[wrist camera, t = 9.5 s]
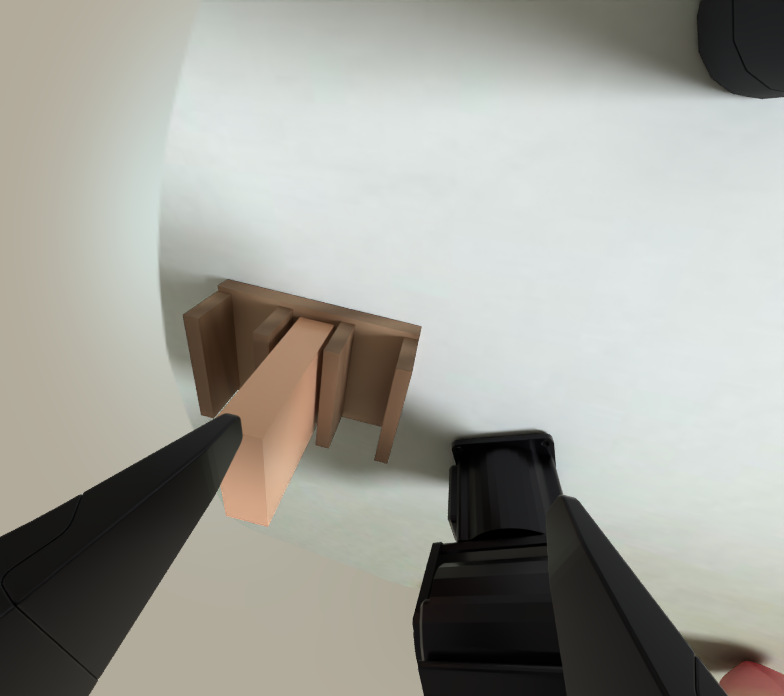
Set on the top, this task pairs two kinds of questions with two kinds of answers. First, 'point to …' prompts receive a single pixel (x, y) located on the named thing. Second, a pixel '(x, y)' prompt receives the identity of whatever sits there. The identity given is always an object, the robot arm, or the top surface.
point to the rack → (340, 358)
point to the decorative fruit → (753, 681)
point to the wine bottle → (744, 45)
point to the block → (275, 422)
